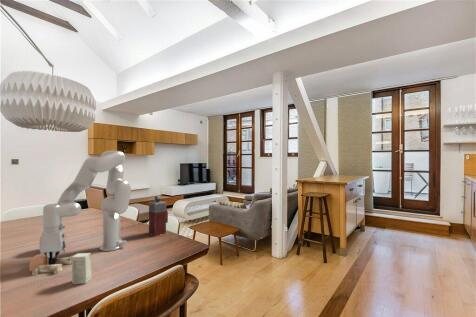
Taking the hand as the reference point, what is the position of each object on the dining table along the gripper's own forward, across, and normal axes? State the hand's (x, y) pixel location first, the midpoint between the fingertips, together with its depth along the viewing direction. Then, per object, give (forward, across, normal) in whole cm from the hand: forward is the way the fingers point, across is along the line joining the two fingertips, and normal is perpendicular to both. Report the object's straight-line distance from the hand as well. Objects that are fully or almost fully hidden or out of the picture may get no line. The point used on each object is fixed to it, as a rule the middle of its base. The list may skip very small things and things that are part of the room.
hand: (52, 264), depth 119 cm
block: (+2, +6, 0) cm, 6 cm away
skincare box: (+2, -21, +16) cm, 27 cm away
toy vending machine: (+2, -44, -48) cm, 65 cm away
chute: (+2, -1, 0) cm, 2 cm away
